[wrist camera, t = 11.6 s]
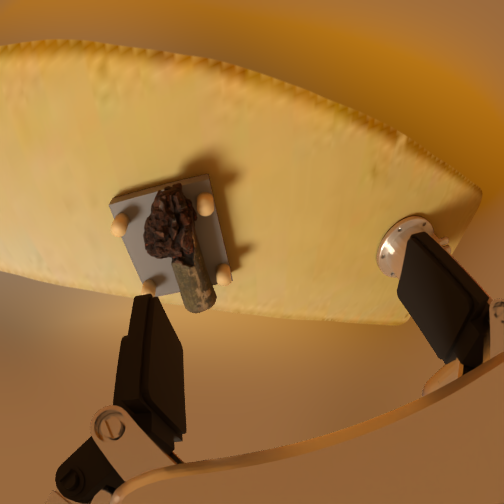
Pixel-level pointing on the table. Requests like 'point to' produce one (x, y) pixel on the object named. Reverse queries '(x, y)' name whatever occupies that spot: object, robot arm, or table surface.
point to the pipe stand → (160, 270)
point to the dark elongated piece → (179, 246)
